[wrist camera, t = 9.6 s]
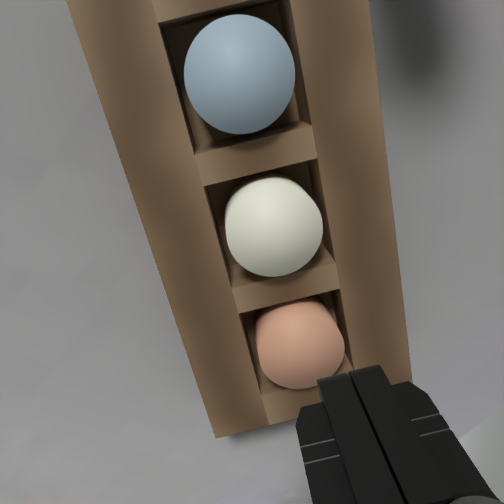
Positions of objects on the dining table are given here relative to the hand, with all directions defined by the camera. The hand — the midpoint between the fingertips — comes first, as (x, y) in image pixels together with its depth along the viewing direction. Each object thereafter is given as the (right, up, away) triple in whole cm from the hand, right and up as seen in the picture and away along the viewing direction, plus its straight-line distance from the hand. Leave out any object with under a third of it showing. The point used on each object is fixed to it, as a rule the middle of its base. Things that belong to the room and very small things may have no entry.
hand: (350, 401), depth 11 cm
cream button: (-2, +6, +13) cm, 15 cm away
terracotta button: (0, -1, +16) cm, 16 cm away
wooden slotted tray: (-2, +6, +15) cm, 16 cm away
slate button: (-3, +12, +11) cm, 16 cm away
